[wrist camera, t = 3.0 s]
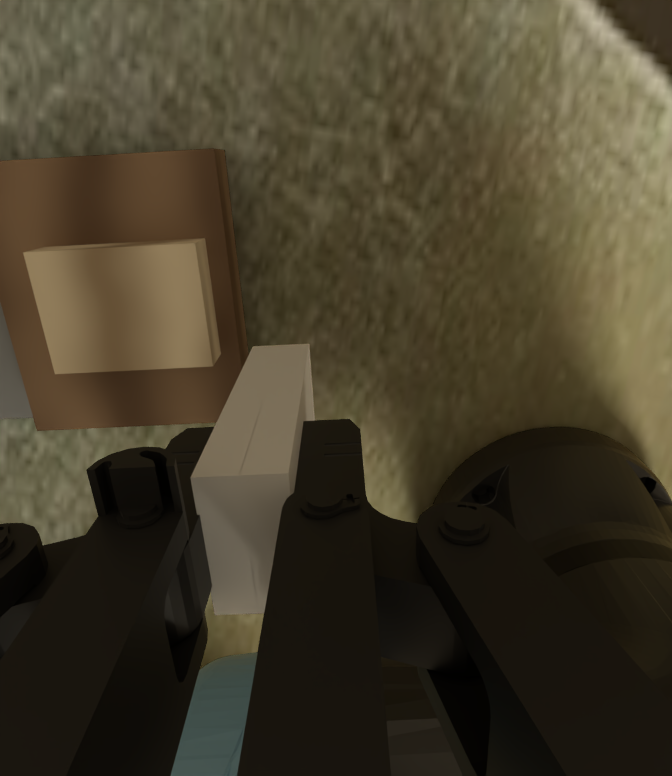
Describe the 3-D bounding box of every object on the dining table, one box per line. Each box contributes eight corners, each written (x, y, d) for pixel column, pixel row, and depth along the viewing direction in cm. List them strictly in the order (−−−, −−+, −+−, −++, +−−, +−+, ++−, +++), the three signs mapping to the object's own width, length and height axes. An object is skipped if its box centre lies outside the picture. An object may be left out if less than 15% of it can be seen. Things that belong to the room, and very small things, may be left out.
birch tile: (204, 238, 27) (195, 243, 25) (220, 353, 29) (213, 366, 27) (45, 246, 27) (22, 252, 25) (72, 361, 29) (55, 374, 27)
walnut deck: (224, 150, 28) (214, 148, 25) (254, 403, 33) (248, 420, 30) (-9, 163, 28) (-40, 163, 25) (58, 412, 33) (37, 430, 31)
